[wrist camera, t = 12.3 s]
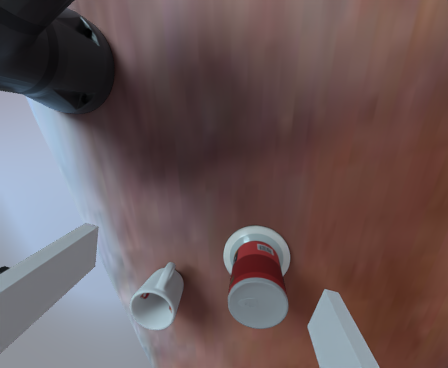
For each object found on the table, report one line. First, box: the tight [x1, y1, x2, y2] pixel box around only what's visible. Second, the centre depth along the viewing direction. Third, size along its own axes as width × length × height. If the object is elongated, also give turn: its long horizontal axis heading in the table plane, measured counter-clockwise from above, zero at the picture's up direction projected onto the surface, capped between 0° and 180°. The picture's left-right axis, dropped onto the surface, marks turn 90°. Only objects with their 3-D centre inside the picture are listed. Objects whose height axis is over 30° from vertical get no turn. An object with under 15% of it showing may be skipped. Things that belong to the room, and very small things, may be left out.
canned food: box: [228, 241, 288, 329], centre depth 33 cm, size 8×8×11 cm
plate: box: [223, 225, 290, 276], centre depth 39 cm, size 12×12×1 cm
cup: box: [130, 262, 184, 330], centre depth 39 cm, size 11×8×8 cm
